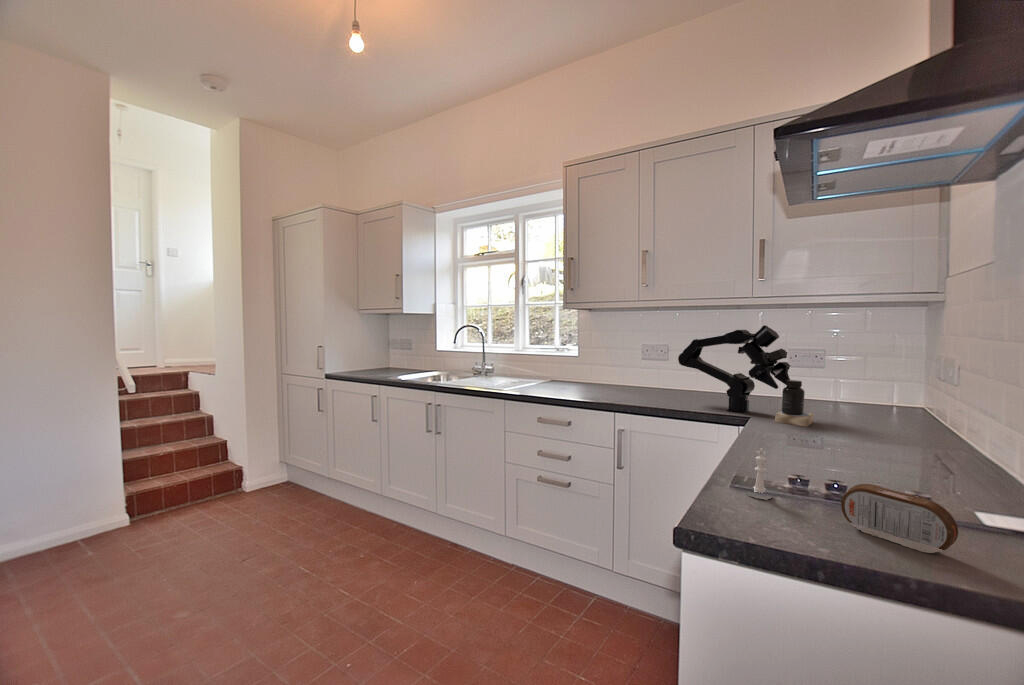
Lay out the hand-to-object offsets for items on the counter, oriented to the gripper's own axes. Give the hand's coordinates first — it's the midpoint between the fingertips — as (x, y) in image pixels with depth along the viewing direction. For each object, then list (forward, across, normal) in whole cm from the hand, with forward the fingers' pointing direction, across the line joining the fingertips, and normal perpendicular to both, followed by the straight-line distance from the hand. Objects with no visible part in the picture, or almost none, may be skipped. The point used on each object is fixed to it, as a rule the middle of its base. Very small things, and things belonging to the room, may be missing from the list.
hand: (784, 387), depth 168 cm
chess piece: (+36, -80, -19) cm, 89 cm away
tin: (+52, -78, -35) cm, 101 cm away
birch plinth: (+11, 0, +6) cm, 13 cm away
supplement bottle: (+9, -1, +4) cm, 10 cm away
